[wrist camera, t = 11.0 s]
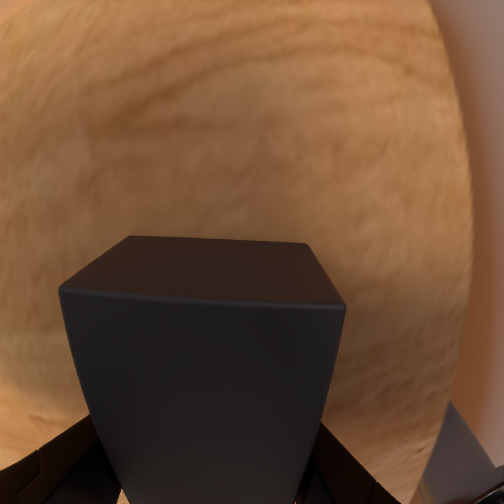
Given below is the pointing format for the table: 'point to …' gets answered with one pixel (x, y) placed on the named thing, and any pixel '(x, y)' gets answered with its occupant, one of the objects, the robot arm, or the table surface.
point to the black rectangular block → (205, 364)
